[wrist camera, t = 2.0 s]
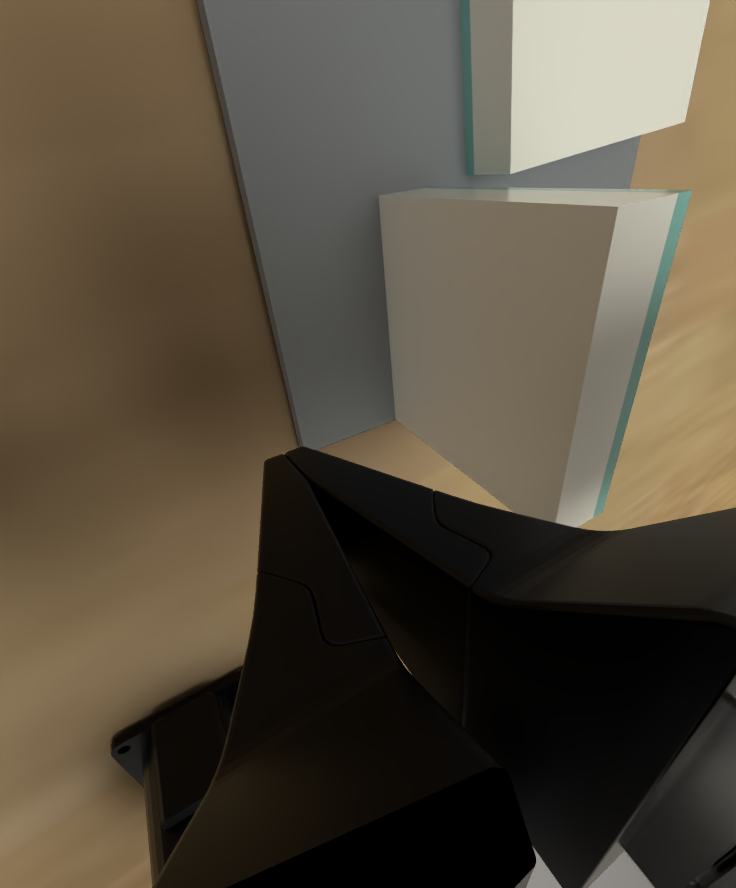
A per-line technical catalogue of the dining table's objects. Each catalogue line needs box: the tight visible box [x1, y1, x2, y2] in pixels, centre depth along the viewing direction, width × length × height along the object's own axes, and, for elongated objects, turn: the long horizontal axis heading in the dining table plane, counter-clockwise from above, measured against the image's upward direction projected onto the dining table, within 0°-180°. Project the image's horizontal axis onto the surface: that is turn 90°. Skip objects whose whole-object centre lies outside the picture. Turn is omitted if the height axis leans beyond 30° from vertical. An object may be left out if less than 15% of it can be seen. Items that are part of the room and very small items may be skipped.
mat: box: [196, 0, 641, 450], centre depth 15 cm, size 16×16×1 cm
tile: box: [379, 186, 692, 528], centre depth 13 cm, size 8×2×8 cm, turn 6°
